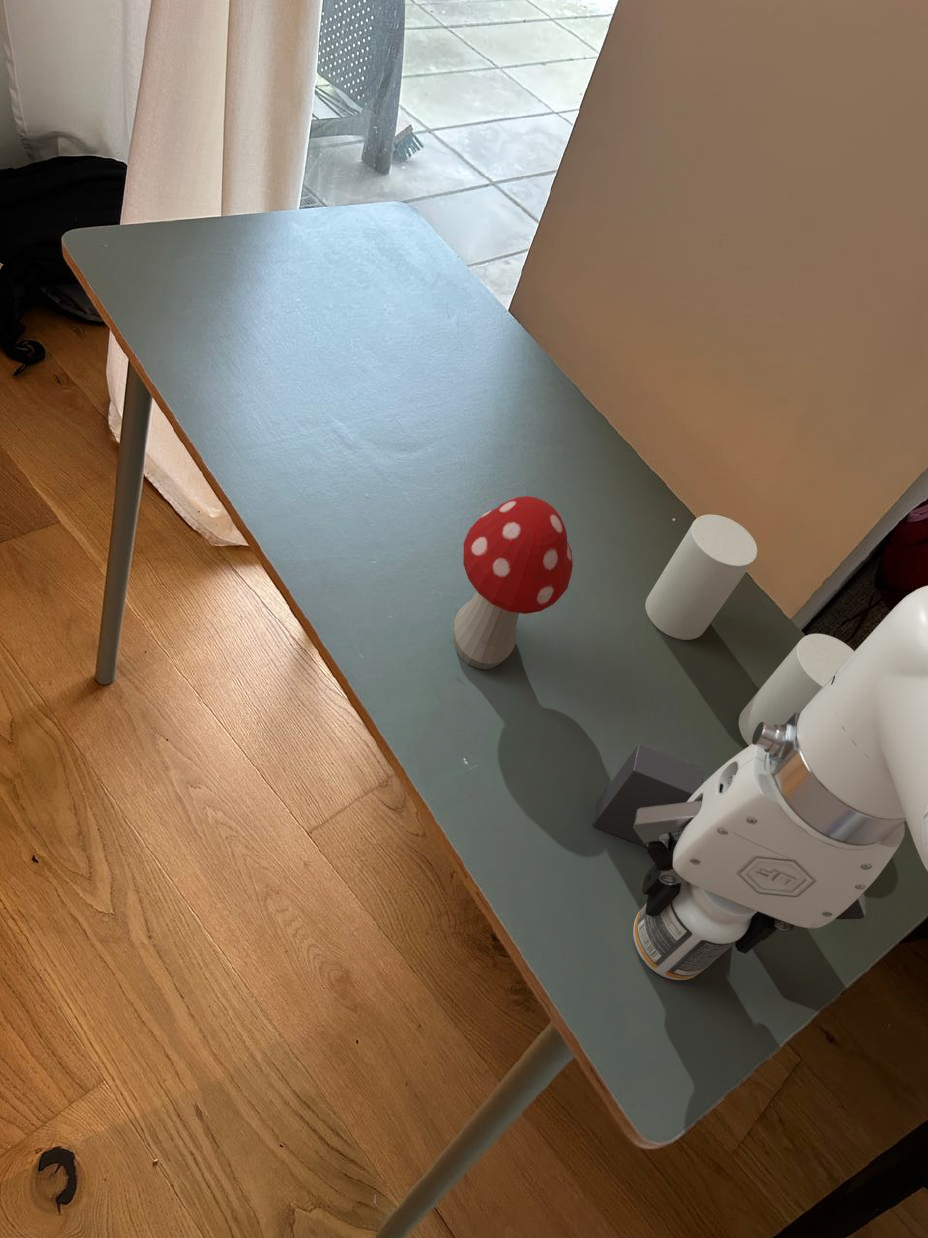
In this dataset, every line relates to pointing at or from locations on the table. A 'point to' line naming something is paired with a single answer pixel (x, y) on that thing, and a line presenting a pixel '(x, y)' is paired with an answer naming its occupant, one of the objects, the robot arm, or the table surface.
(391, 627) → the table surface
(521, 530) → the decorative mushroom
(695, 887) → the pill bottle
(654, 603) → the white cylinder
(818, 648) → the white cylinder
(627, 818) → the dark grey rectangular block
